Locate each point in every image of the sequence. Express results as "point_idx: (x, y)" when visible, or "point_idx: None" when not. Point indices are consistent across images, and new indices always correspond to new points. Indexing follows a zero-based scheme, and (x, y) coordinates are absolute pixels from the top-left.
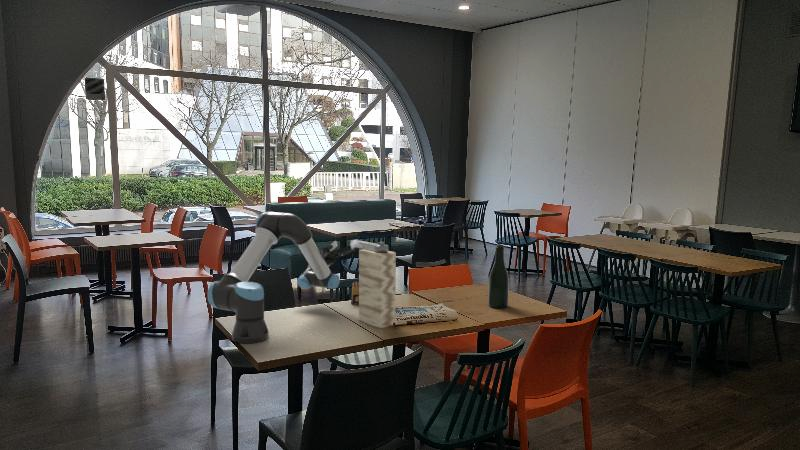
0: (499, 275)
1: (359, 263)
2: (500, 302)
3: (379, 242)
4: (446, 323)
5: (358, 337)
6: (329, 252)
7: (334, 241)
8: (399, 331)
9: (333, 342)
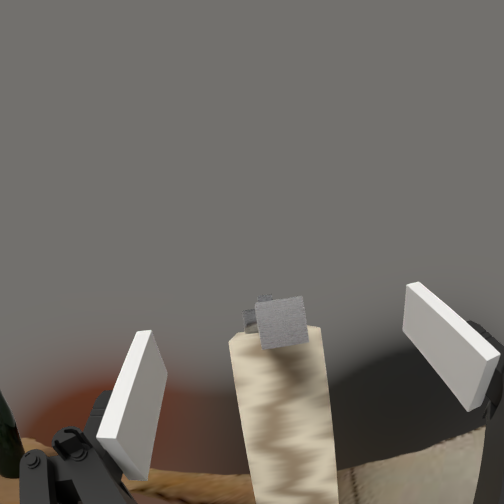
0: (10, 409)
1: (327, 388)
2: None
3: (271, 295)
4: (171, 488)
5: (394, 476)
6: (485, 411)
7: (423, 286)
8: None
9: (449, 457)
